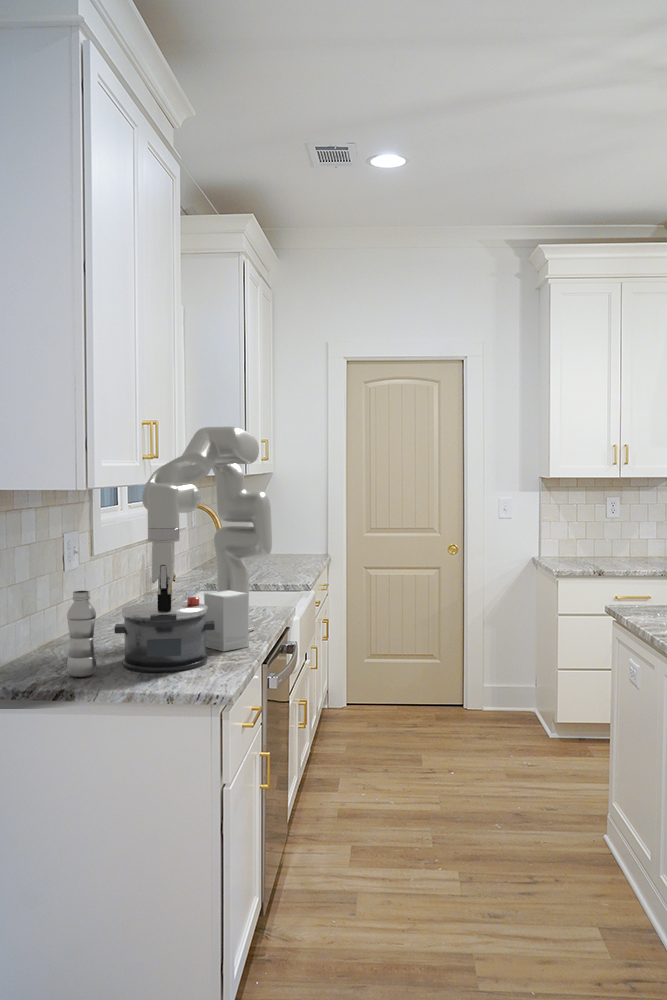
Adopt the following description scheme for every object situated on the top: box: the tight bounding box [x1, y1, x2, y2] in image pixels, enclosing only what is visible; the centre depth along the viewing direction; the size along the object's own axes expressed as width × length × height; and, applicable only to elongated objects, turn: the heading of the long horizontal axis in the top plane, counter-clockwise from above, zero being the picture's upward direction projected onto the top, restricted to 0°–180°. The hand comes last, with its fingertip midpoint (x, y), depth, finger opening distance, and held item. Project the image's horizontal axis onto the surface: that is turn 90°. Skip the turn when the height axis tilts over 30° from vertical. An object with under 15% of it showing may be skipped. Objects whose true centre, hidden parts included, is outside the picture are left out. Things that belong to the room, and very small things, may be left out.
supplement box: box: [203, 590, 250, 652], centre depth 217 cm, size 9×9×15 cm
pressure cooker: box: [114, 615, 215, 674], centre depth 199 cm, size 22×24×12 cm
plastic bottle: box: [66, 590, 97, 678], centre depth 186 cm, size 6×7×20 cm
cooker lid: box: [121, 596, 207, 621], centre depth 197 cm, size 23×21×4 cm
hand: (164, 610), depth 192 cm, fingers closed
